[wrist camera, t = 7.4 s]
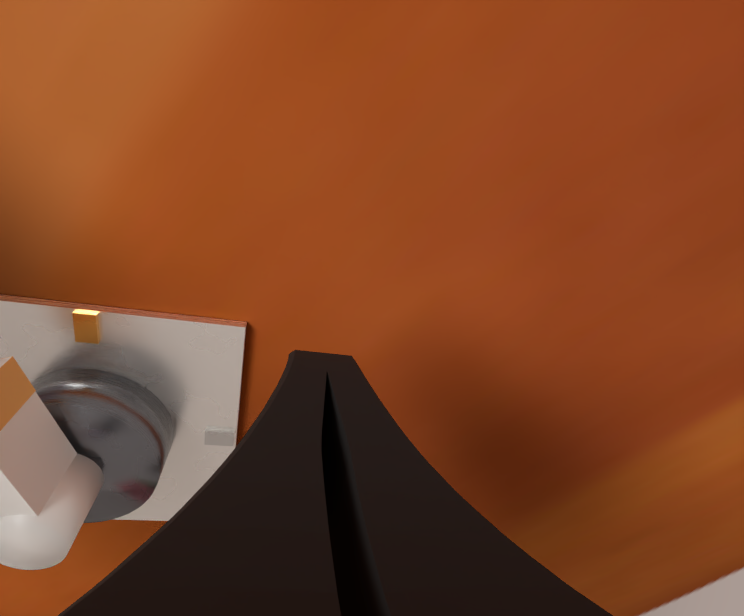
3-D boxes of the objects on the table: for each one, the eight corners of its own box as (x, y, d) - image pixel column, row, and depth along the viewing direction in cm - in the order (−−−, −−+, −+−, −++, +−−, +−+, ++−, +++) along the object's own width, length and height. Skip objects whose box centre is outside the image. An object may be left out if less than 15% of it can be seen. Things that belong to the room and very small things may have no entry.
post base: (-25, 507, 23) (-68, 561, 21) (-87, 284, 18) (-156, 321, 15) (230, 514, 26) (221, 564, 23) (246, 321, 20) (237, 358, 18)
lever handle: (115, 490, 20) (82, 560, 17) (52, 503, 20) (8, 576, 17) (26, 353, 16) (-35, 412, 13) (-52, 369, 16) (-130, 432, 13)
